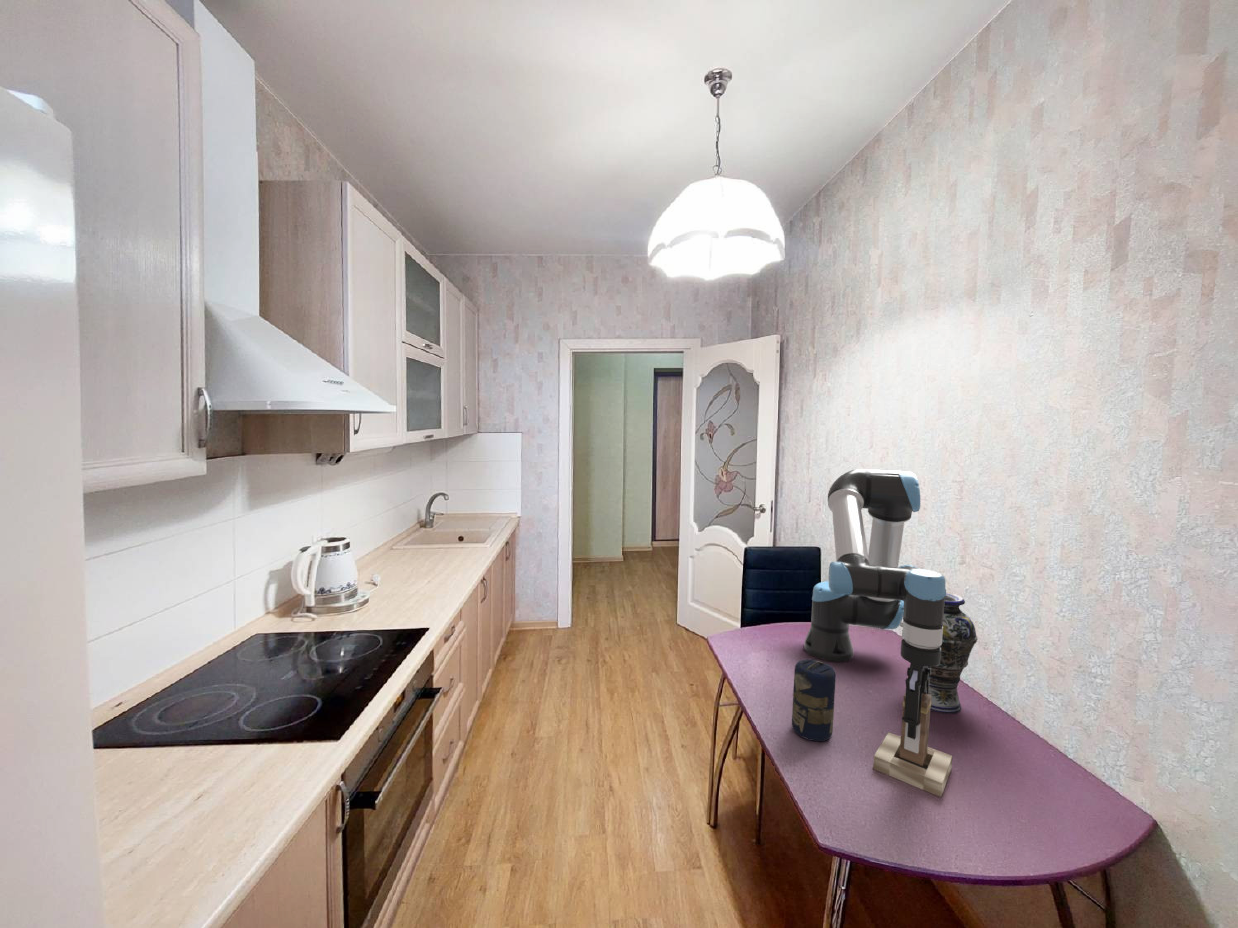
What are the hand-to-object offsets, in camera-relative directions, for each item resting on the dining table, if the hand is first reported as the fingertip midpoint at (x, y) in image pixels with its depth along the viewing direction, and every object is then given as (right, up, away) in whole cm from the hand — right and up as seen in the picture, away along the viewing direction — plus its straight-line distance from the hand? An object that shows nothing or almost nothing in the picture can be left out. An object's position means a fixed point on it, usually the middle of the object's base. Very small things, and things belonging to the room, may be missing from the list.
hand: (914, 744), depth 116 cm
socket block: (0, -6, 0) cm, 6 cm away
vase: (+22, -4, +29) cm, 37 cm away
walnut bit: (0, -3, 0) cm, 3 cm away
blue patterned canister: (-18, -4, +13) cm, 23 cm away
